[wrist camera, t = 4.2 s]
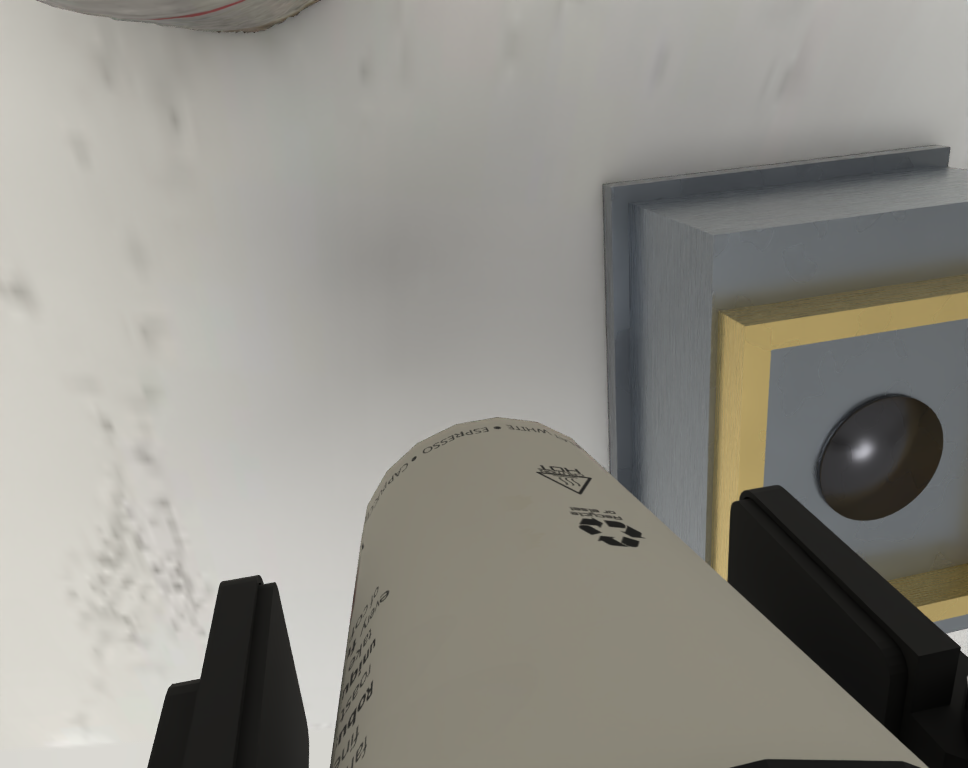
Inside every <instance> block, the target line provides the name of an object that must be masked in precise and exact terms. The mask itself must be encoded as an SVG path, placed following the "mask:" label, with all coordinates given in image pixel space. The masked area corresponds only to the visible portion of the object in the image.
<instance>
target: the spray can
mask: <svg viewBox="0 0 968 768" xmlns="http://www.w3.org/2000/svg"><path fill="white" fill-rule="evenodd" d="M37 1H40V2H42V3H45V4H48V5H50V6H53V7H57V8H61V9H66V10H70V11H74V12H79V13H83V14H88V15H95V16H104V17H110V18H112V19H114V20H122V21H134V22H145V23H155V24H157V25H160V26H174V27H181V28H187V29H193V30H200V31H211V32H218V33H220V32H221V31H223V32H234V31H235V32H236V33H237V32H240V31H243V32H244V33H245V32H247V33H248V32H254V33H255V32H256V31H257V32H258V31H264V30H267V29H269V28H270V27H272V26H273V25H275V24H278V23H282V22H283V21H284V20H286V19H287V18H288V17H294V16H295V15H297V14H298V13H299V12H300V11H302V10H303V9H305V8H307V7H309V6H311V5H312V4H314V3H316V2H318V1H320V0H37Z"/></svg>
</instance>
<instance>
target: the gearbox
mask: <svg viewBox="0 0 968 768" xmlns="http://www.w3.org/2000/svg"><path fill="white" fill-rule="evenodd" d="M949 154H950V147H947V146H938V145H932V146H923V147H915V148H906V149H898V150H890V151H881V152H873V153H864V154H856V155H847V156H839V157H830V158H822V159H813V160H805V161H796V162H788V163H779V164H771V165H762V166H754V167H745V168H737V169H728V170H720V171H711V172H703V173H694V174H686V175H677V176H669V177H660V178H652V179H643V180H635V181H626V182H618V183H609V184H603V204H604V244H605V284H606V324H607V364H608V404H609V444H610V474H611V475H612V476H613V477H614V478H615V479H616V480H617V481H618V482H619V483H620V484H621V485H623V486H624V487H625V488H626V489H627V490H628V491H629V492H630V493H631V494H632V495H633V496H635V497H636V498H637V499H638V500H639V501H640V502H641V503H642V504H643V505H644V506H645V507H646V508H648V509H649V510H650V511H651V512H652V513H653V514H654V515H655V516H656V517H657V518H658V519H659V520H661V521H662V522H663V523H664V524H665V525H666V526H667V527H668V528H669V529H670V530H671V531H672V532H674V533H675V534H676V535H677V536H678V537H679V538H680V539H681V540H682V541H683V542H684V543H686V544H687V545H688V546H689V547H690V548H691V549H692V550H693V551H694V552H695V553H696V554H697V555H699V556H700V557H701V558H702V559H703V560H704V561H705V562H706V563H707V564H708V565H709V566H710V567H712V568H713V569H714V570H715V571H716V572H717V573H718V574H719V575H720V576H721V577H722V578H723V579H725V580H726V581H727V577H728V552H729V528H730V509H731V505H732V503H733V502H734V501H739V497H740V495H741V493H742V492H743V491H744V490H749V489H755V488H761V487H766V486H772V485H780V486H781V487H783V488H784V489H785V490H787V491H788V492H789V493H790V494H791V495H792V496H793V497H794V498H795V499H797V500H798V501H799V502H800V503H801V504H802V505H803V506H804V507H805V508H807V509H808V510H809V511H810V512H811V513H812V514H813V515H814V516H815V517H817V518H818V519H819V520H820V521H821V522H822V523H823V524H824V525H825V526H827V527H828V528H829V529H830V530H831V531H832V532H833V533H834V534H835V535H837V536H838V537H839V538H840V539H841V540H842V541H843V542H844V543H846V544H847V545H848V546H849V547H850V548H851V549H852V550H853V551H854V552H856V553H857V554H858V555H859V556H860V557H861V558H862V559H863V560H864V561H866V562H867V563H868V564H869V565H870V566H871V567H872V568H873V569H874V570H876V571H877V572H878V573H879V574H880V575H881V576H882V577H883V578H884V579H886V580H887V581H888V582H889V583H890V584H891V585H892V586H893V587H894V588H896V589H897V590H898V591H899V592H900V593H901V594H902V595H903V596H904V597H906V598H907V599H908V600H909V601H910V602H911V603H912V604H913V605H914V606H916V607H917V608H918V609H919V610H920V611H921V612H922V613H923V614H924V615H926V616H927V617H928V618H929V619H930V620H931V621H932V622H933V623H934V624H936V625H937V626H938V627H939V628H940V629H941V630H942V631H943V632H944V633H950V632H954V631H958V630H963V629H967V628H968V170H965V169H957V168H950V167H948V162H949Z"/></svg>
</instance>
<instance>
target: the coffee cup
mask: <svg viewBox="0 0 968 768" xmlns="http://www.w3.org/2000/svg"><path fill="white" fill-rule="evenodd" d="M330 768H929V767H927V766H926V765H925V764H924V763H923V762H922V761H921V760H920V759H919V758H918V757H917V756H916V755H914V754H913V753H912V752H911V751H910V750H909V749H908V748H907V747H906V746H905V745H904V744H903V743H901V742H900V741H899V740H898V739H897V738H896V737H895V736H894V735H893V734H892V733H891V732H889V731H888V730H887V729H886V728H885V727H884V726H883V725H882V724H881V723H880V722H879V721H878V720H876V719H875V718H874V717H873V716H872V715H871V714H870V713H869V712H868V711H867V710H866V709H865V708H863V707H862V706H861V705H860V704H859V703H858V702H857V701H856V700H855V699H854V698H853V697H852V696H850V695H849V694H848V693H847V692H846V691H845V690H844V689H843V688H842V687H841V686H840V685H838V684H837V683H836V682H835V681H834V680H833V679H832V678H831V677H830V676H829V675H828V674H827V673H825V672H824V671H823V670H822V669H821V668H820V667H819V666H818V665H817V664H816V663H815V662H814V661H812V660H811V659H810V658H809V657H808V656H807V655H806V654H805V653H804V652H803V651H802V650H801V649H799V648H798V647H797V646H796V645H795V644H794V643H793V642H792V641H791V640H790V639H789V638H788V637H786V636H785V635H784V634H783V633H782V632H781V631H780V630H779V629H778V628H777V627H776V626H774V625H773V624H772V623H771V622H770V621H769V620H768V619H767V618H766V617H765V616H764V615H763V614H761V613H760V612H759V611H758V610H757V609H756V608H755V607H754V606H753V605H752V604H751V603H750V602H748V601H747V600H746V599H745V598H744V597H743V596H742V595H741V594H740V593H739V592H738V591H737V590H735V589H734V588H733V587H732V586H731V585H730V584H729V583H728V582H727V581H726V580H725V579H723V578H722V577H721V576H720V575H719V574H718V573H717V572H716V571H715V570H714V569H713V568H712V567H710V566H709V565H708V564H707V563H706V562H705V561H704V560H703V559H702V558H701V557H700V556H699V555H697V554H696V553H695V552H694V551H693V550H692V549H691V548H690V547H689V546H688V545H687V544H686V543H684V542H683V541H682V540H681V539H680V538H679V537H678V536H677V535H676V534H675V533H674V532H672V531H671V530H670V529H669V528H668V527H667V526H666V525H665V524H664V523H663V522H662V521H661V520H659V519H658V518H657V517H656V516H655V515H654V514H653V513H652V512H651V511H650V510H649V509H648V508H646V507H645V506H644V505H643V504H642V503H641V502H640V501H639V500H638V499H637V498H636V497H635V496H633V495H632V494H631V493H630V492H629V491H628V490H627V489H626V488H625V487H624V486H623V485H621V484H620V483H619V482H618V481H617V480H616V479H615V478H614V477H613V476H612V475H611V474H610V473H608V472H607V471H606V470H605V469H604V468H603V467H602V466H601V465H600V464H599V463H598V462H597V461H595V460H594V459H593V458H592V457H591V456H590V455H589V454H588V453H587V452H586V451H585V450H584V449H582V448H581V447H580V446H579V445H578V444H577V443H576V442H575V441H574V440H573V439H572V438H570V437H568V436H565V435H563V434H561V433H559V432H557V431H555V430H553V429H551V428H549V427H546V426H544V425H542V424H540V423H538V422H532V421H524V420H516V419H508V418H499V417H496V418H490V419H484V420H479V421H473V422H467V423H461V424H456V425H454V426H452V427H450V428H448V429H445V430H443V431H441V432H439V433H437V434H435V435H433V436H431V437H429V438H427V439H425V440H423V441H421V442H419V443H417V444H416V445H415V446H414V447H413V448H412V449H411V450H410V451H409V452H407V453H406V454H405V455H404V456H403V457H402V458H401V459H400V460H399V461H398V462H397V463H395V464H394V465H393V466H392V467H391V468H390V469H389V470H388V471H387V472H386V474H385V476H384V477H383V479H382V481H381V483H380V484H379V486H378V488H377V490H376V491H375V493H374V495H373V497H372V498H371V500H370V502H369V504H368V506H367V511H366V517H365V522H364V528H363V533H362V539H361V545H360V553H359V560H358V567H357V574H356V582H355V589H354V596H353V604H352V611H351V618H350V626H349V633H348V640H347V647H346V655H345V662H344V669H343V677H342V684H341V691H340V698H339V706H338V713H337V720H336V728H335V735H334V743H333V750H332V757H331V764H330Z"/></svg>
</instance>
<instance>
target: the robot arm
mask: <svg viewBox="0 0 968 768" xmlns="http://www.w3.org/2000/svg"><path fill="white" fill-rule="evenodd" d="M727 582H728V583H729V584H730V585H731V586H732V587H733V588H734V589H735V590H737V591H738V592H739V593H740V594H741V595H742V596H743V597H744V598H745V599H746V600H747V601H748V602H750V603H751V604H752V605H753V606H754V607H755V608H756V609H757V610H758V611H759V612H760V613H761V614H763V615H764V616H765V617H766V618H767V619H768V620H769V621H770V622H771V623H772V624H773V625H774V626H776V627H777V628H778V629H779V630H780V631H781V632H782V633H783V634H784V635H785V636H786V637H788V638H789V639H790V640H791V641H792V642H793V643H794V644H795V645H796V646H797V647H798V648H799V649H801V650H802V651H803V652H804V653H805V654H806V655H807V656H808V657H809V658H810V659H811V660H812V661H814V662H815V663H816V664H817V665H818V666H819V667H820V668H821V669H822V670H823V671H824V672H825V673H827V674H828V675H829V676H830V677H831V678H832V679H833V680H834V681H835V682H836V683H837V684H838V685H840V686H841V687H842V688H843V689H844V690H845V691H846V692H847V693H848V694H849V695H850V696H852V697H853V698H854V699H855V700H856V701H857V702H858V703H859V704H860V705H861V706H862V707H863V708H865V709H866V710H867V711H868V712H869V713H870V714H871V715H872V716H873V717H874V718H875V719H876V720H878V721H879V722H880V723H881V724H882V725H883V726H884V727H885V728H886V729H887V730H888V731H889V732H891V733H892V734H893V735H894V736H895V737H896V738H897V739H898V740H899V741H900V742H901V743H903V744H904V745H905V746H906V747H907V748H908V749H909V750H910V751H911V752H912V753H913V754H914V755H916V756H917V757H918V758H919V759H920V760H921V761H922V762H923V763H924V764H925V765H926V766H927V767H929V768H968V657H967V656H966V655H965V654H964V653H962V652H961V651H960V649H961V647H960V646H959V645H958V644H957V643H956V642H954V641H953V640H952V639H951V638H950V637H949V636H948V635H947V634H946V633H944V632H943V631H942V630H941V629H940V628H939V627H938V626H937V625H936V624H934V623H933V622H932V621H931V620H930V619H929V618H928V617H927V616H926V615H924V614H923V613H922V612H921V611H920V610H919V609H918V608H917V607H916V606H914V605H913V604H912V603H911V602H910V601H909V600H908V599H907V598H906V597H904V596H903V595H902V594H901V593H900V592H899V591H898V590H897V589H896V588H894V587H893V586H892V585H891V584H890V583H889V582H888V581H887V580H886V579H884V578H883V577H882V576H881V575H880V574H879V573H878V572H877V571H876V570H874V569H873V568H872V567H871V566H870V565H869V564H868V563H867V562H866V561H864V560H863V559H862V558H861V557H860V556H859V555H858V554H857V553H856V552H854V551H853V550H852V549H851V548H850V547H849V546H848V545H847V544H846V543H844V542H843V541H842V540H841V539H840V538H839V537H838V536H837V535H835V534H834V533H833V532H832V531H831V530H830V529H829V528H828V527H827V526H825V525H824V524H823V523H822V522H821V521H820V520H819V519H818V518H817V517H815V516H814V515H813V514H812V513H811V512H810V511H809V510H808V509H807V508H805V507H804V506H803V505H802V504H801V503H800V502H799V501H798V500H797V499H795V498H794V497H793V496H792V495H791V494H790V493H789V492H788V491H787V490H785V489H784V488H783V487H781V486H780V485H772V486H766V487H761V488H755V489H749V490H744V491H743V492H742V493H741V495H740V497H739V501H734V502H733V503H732V505H731V509H730V528H729V552H728V577H727ZM147 768H309V736H308V727H307V721H306V716H305V711H304V707H303V702H302V697H301V693H300V688H299V684H298V679H297V674H296V670H295V665H294V660H293V656H292V651H291V647H290V642H289V637H288V633H287V628H286V624H285V619H284V614H283V610H282V605H281V600H280V596H279V591H278V587H277V585H276V583H275V582H274V583H268V584H263V580H262V578H261V576H260V575H257V576H251V577H245V578H239V579H234V580H228V581H222V582H221V583H220V586H219V590H218V595H217V599H216V604H215V609H214V614H213V619H212V624H211V629H210V634H209V639H208V644H207V648H206V653H205V658H204V663H203V668H202V673H201V678H200V679H197V680H191V681H186V682H181V683H176V684H172V685H171V686H170V687H169V688H168V691H167V694H166V696H165V700H164V704H163V708H162V712H161V716H160V720H159V724H158V728H157V732H156V736H155V740H154V744H153V748H152V752H151V755H150V759H149V763H148V767H147Z"/></svg>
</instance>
